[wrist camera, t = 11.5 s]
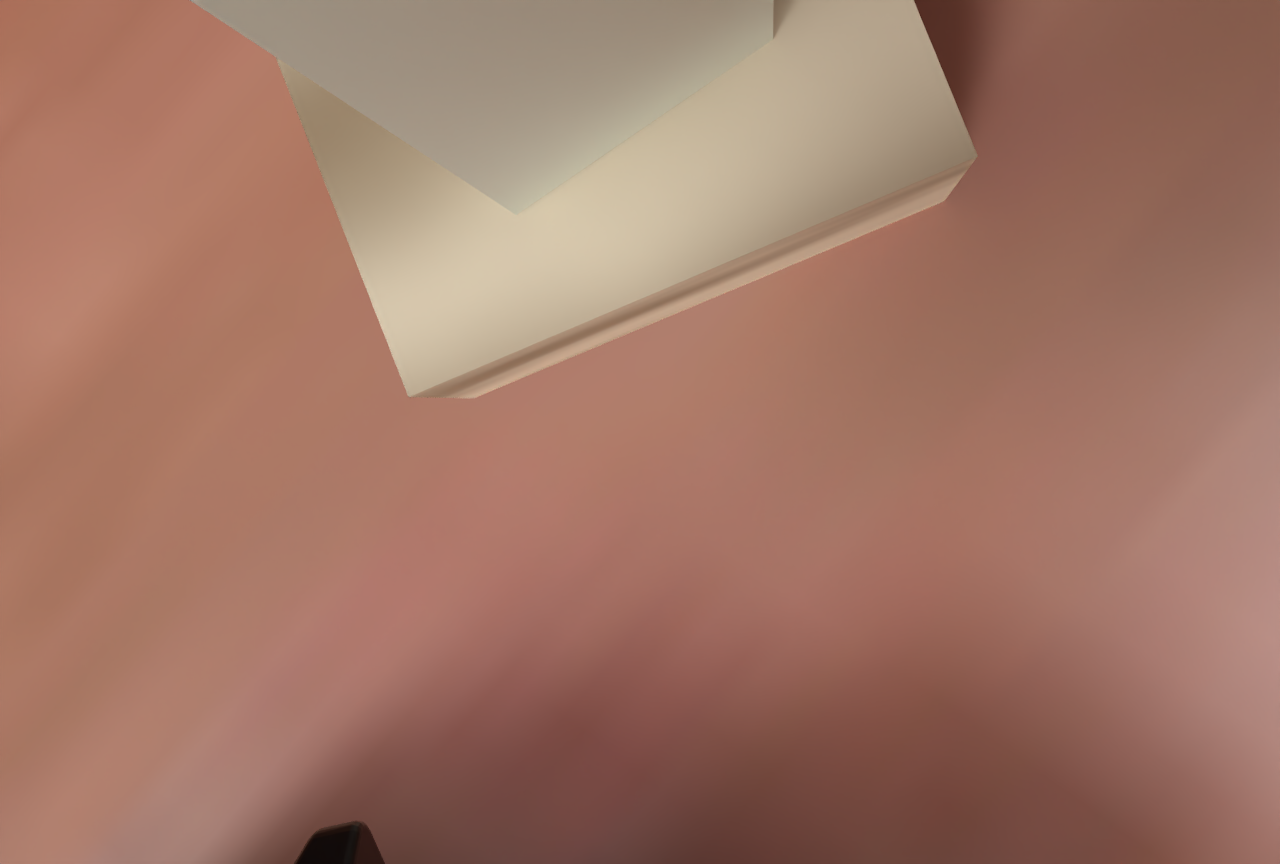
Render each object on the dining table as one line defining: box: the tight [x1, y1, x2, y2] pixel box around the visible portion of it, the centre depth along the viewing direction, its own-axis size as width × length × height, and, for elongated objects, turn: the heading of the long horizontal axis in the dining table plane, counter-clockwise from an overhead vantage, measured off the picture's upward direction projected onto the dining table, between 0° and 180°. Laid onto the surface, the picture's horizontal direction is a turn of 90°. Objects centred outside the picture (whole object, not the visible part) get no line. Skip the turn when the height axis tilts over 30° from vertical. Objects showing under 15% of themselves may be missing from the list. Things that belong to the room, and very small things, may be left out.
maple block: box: [276, 0, 978, 398], centre depth 19 cm, size 10×10×4 cm
